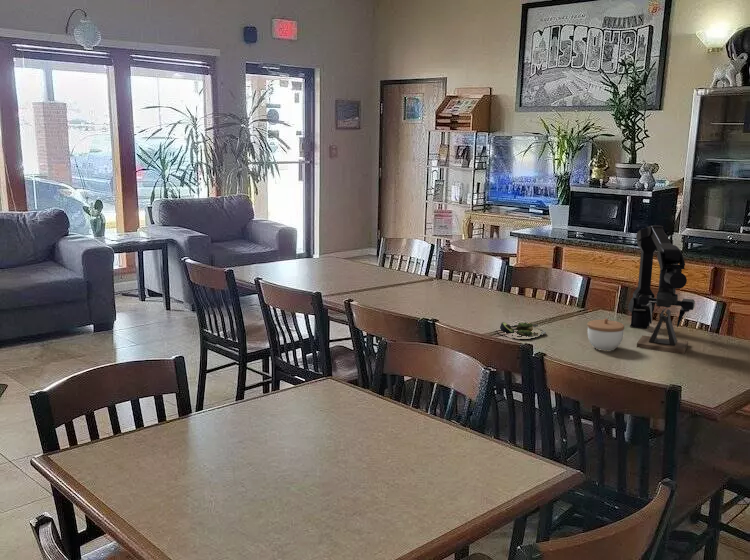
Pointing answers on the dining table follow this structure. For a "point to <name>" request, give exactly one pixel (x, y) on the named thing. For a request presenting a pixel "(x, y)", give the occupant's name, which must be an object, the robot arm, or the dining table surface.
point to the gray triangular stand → (670, 330)
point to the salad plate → (520, 329)
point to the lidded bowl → (605, 334)
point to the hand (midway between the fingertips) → (664, 325)
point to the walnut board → (678, 348)
